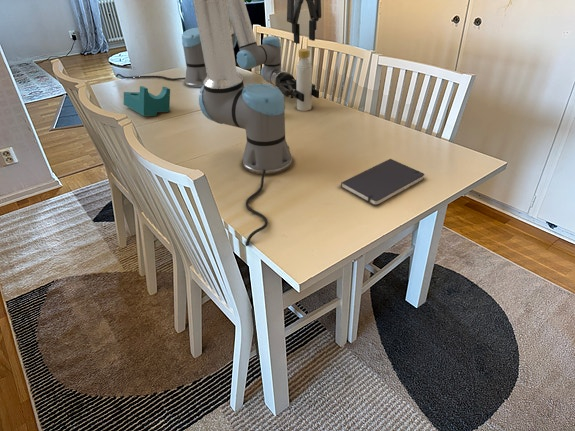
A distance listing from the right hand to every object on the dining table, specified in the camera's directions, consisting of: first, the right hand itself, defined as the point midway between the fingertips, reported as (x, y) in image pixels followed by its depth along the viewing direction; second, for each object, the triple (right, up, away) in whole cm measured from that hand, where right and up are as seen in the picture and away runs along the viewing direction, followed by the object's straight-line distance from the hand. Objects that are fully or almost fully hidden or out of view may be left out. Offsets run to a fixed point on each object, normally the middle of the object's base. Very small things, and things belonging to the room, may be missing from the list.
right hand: (304, 41), depth 149 cm
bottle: (0, -21, +15) cm, 25 cm away
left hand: (+3, -18, +7) cm, 20 cm away
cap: (0, -3, +2) cm, 3 cm away
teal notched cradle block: (-63, -21, +18) cm, 69 cm away
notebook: (+21, -55, -34) cm, 68 cm away
